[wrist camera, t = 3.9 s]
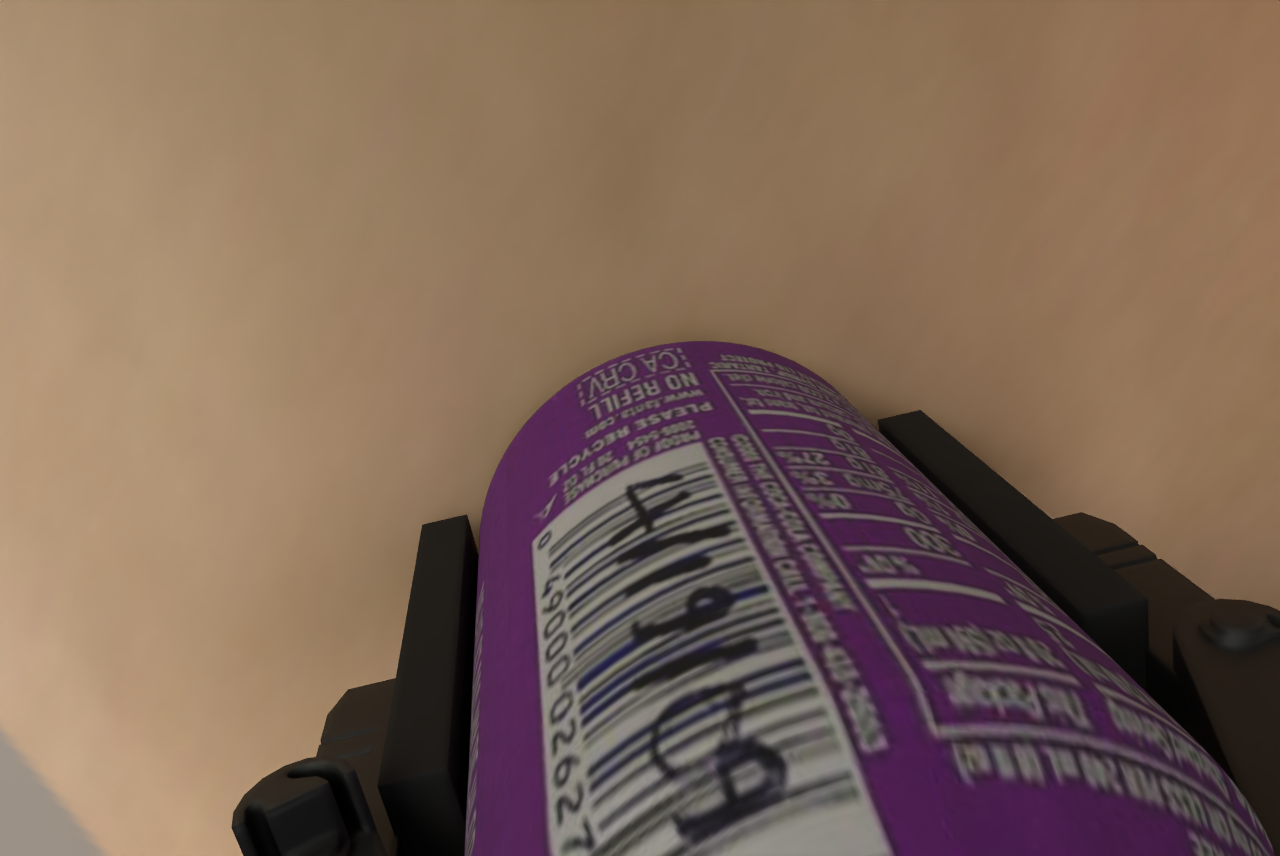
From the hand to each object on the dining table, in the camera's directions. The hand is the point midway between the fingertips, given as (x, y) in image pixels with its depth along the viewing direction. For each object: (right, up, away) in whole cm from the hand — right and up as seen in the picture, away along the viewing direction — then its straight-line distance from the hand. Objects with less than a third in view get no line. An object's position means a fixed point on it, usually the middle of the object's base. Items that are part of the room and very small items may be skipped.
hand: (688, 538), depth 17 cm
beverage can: (0, 0, +1) cm, 1 cm away
